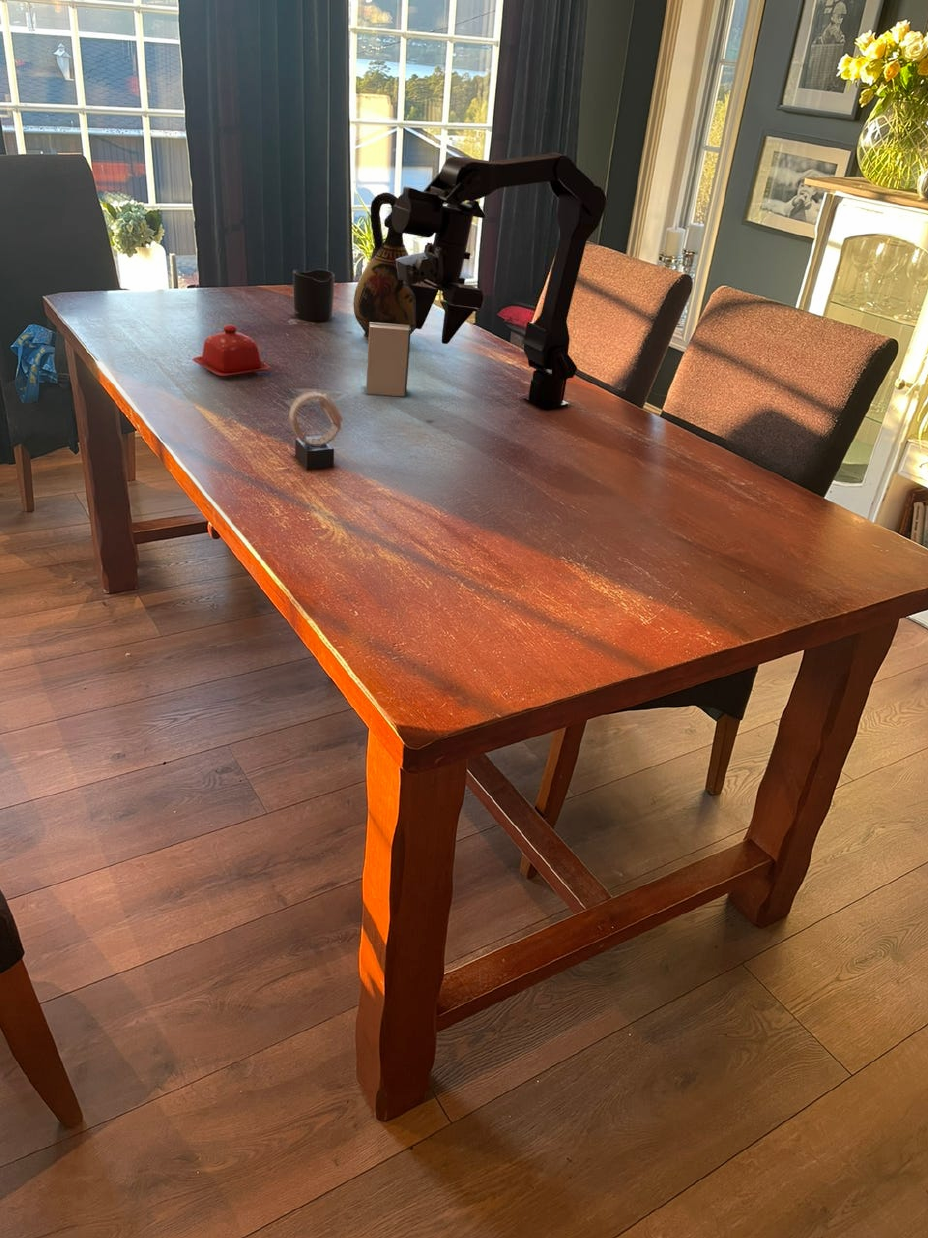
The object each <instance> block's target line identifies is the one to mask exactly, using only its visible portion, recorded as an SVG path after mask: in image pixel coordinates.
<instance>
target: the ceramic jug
mask: <svg viewBox="0 0 928 1238" xmlns="http://www.w3.org/2000/svg"><path fill="white" fill-rule="evenodd" d="M397 199H398V197H397V196H396V195H394V194H392V193H390V192H387V191H386V192H381V193H379V194H377V195H376V196H375V197H374V198H373V200H372V201H371V204H370V216H369V217H370V224H371V231H372V232H371V233H372V238H373V242H374V243H373V244H374V245H373V246H374V248H373V249H372V253H371V256H370V259H369V262H368V264H367V265H366V266H365V268H364V269H363V272H362V273H361V275H360V277H359V279H358V282H357V284H356V287H355V291H354V296H353V303H352V304H353V314H354V317H355V319H356V322H357V323H358V325H359V326H360V327H361V329H362V330H363V332H364V334H363V338H364V339H365V340H366V342H368V343H369V324H370V322H375V323H388V324H400V325H410V328H411V335H412V334H413V333H414V332H415V330H416V328H415V320H414V310H413V301H412V295H411V293H410V292H409V290H408V289H407V287H406V286H405V285H404V284H403V282H405V281H403V280H399V279H398V272H397V264H396V259H398V258H401V257H405V256H408V255H410V254H409V252H408V250H407V248H406V245H405V243H404V236H403V235H404V233H399V232H396V231H395V229H394V227H393V224H392V211H391V212H390V213H389V214H388V215H387V216H386V217H385V219H384V221H383V226H384V227H386V228H387V234H386V236H385V239H384V236H383V235H384V234H383V231H382V222H381V221H382V220H381V214H380V212H381V208H382V206H383V205H389V206H390V209H391V210H392V209H393V206H394V205H395V203H396V200H397Z"/></svg>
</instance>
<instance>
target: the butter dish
mask: <svg viewBox="0 0 928 1238" xmlns="http://www.w3.org/2000/svg"><path fill="white" fill-rule="evenodd" d="M222 329H223V331H224V332H219V333H215V334H212V335H210V336H208V337H207V338H206V339H205V340H204V343H203V348H202V355H201V356H197V357H193V358H192V360H191V361H193V362H194V363H196V364H198V365H199V366H202V367H203V368H205V370H207V371H209V372H211V373H213V374H214V375H216V376H219V377H223V378H229V377H236V376H242V375H250V374H254V373H258V372H264V371H269V370H270V369H271V367H270V366H269V365H268V364H267V363H265V362H263V361H262V360H261V356H260V351H259V348H258V345H257V343H256V341H254V340H253V339H252V338H251V337H250V336H248V335H245V334H243V333H241V332H237V329H238V328H237V326H236V325H233V324H226V325H224V326H223V328H222Z"/></svg>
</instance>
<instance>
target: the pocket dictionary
mask: <svg viewBox="0 0 928 1238" xmlns="http://www.w3.org/2000/svg"><path fill="white" fill-rule="evenodd" d="M411 335H412V334H411V328H410V325H400V324H388V323H375V322H370V324H369V342H368V346H367V347H368V348H367V367H366V385H365V388H366V391H365V392H366V395H378V396H393V397H407V390H408V389H407V388H408V376H409V362H410V347H411Z"/></svg>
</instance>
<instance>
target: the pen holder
mask: <svg viewBox="0 0 928 1238" xmlns="http://www.w3.org/2000/svg"><path fill="white" fill-rule="evenodd" d="M335 274H336V273H334V272H332V271H330V270H327V269H321V268H317V269H313V270H310V271H301V270H299V269H293V271H292V283H293V287H292V288H293V312H294V316H295V317H296V319H298V320H301V321H304V322H305V321H306V322H314V323H317V322H318V323H320V322H327V321H330V320H331V319H332V318H333V309H334V308H333V306H334V291H335V276H336V275H335Z"/></svg>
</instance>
